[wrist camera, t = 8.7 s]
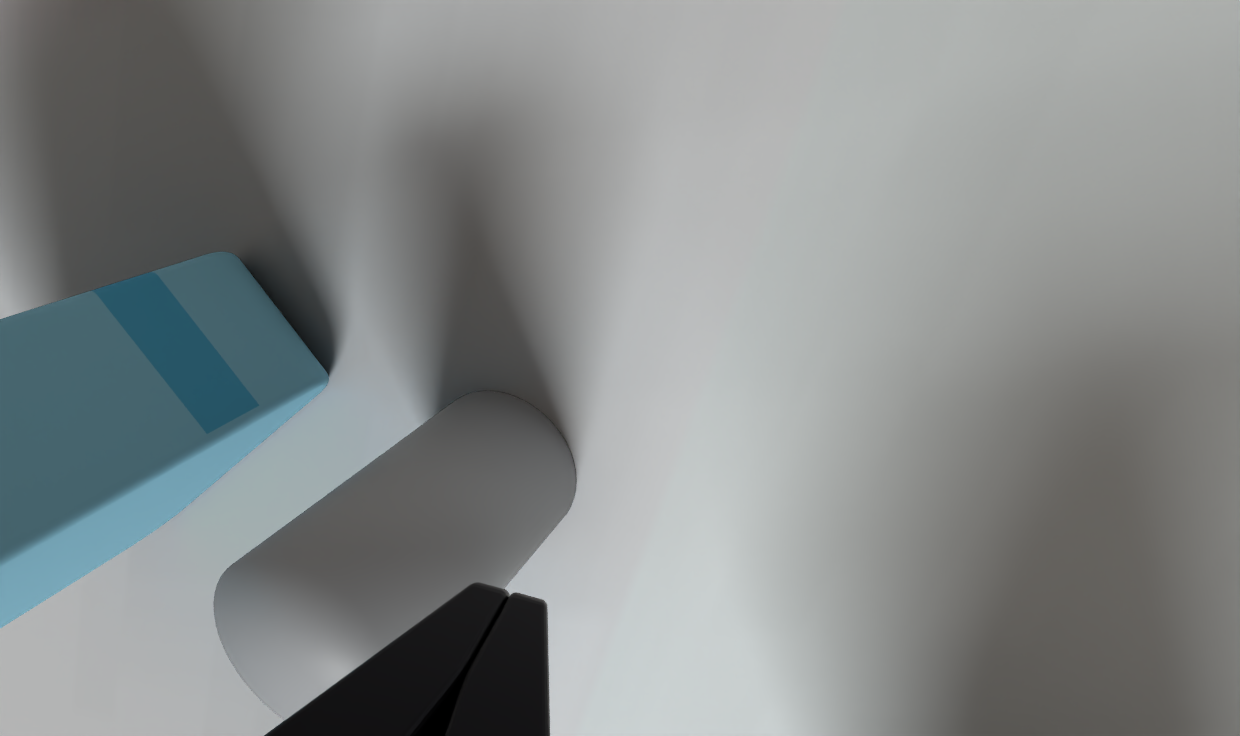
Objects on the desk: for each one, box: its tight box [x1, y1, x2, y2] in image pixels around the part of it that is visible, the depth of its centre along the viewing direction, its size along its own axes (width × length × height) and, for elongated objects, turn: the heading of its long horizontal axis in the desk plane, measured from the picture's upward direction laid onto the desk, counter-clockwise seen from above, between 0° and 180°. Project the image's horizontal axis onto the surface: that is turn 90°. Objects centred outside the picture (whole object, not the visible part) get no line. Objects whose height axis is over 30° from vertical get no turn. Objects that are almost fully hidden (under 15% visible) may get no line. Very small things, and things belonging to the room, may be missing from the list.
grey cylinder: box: [214, 391, 576, 720], centre depth 20 cm, size 4×4×8 cm
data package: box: [0, 252, 329, 628], centre depth 22 cm, size 12×4×12 cm, turn 129°
